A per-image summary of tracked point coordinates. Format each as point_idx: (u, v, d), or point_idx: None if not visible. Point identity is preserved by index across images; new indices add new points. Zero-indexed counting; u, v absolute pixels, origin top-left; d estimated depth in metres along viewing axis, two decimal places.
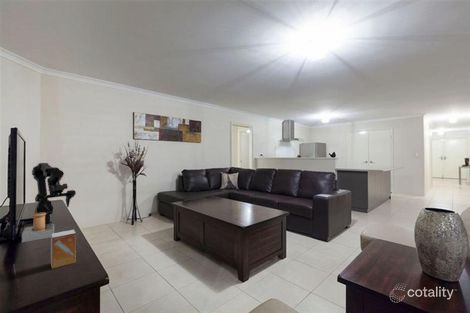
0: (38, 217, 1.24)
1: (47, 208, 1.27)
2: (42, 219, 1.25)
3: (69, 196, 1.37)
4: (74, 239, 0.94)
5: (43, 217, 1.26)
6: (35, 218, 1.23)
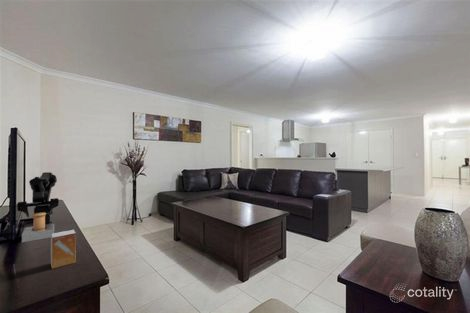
0: (38, 217, 1.24)
1: (27, 216, 1.26)
2: (42, 219, 1.25)
3: (51, 204, 1.35)
4: (74, 239, 0.94)
5: (43, 217, 1.26)
6: (35, 218, 1.23)
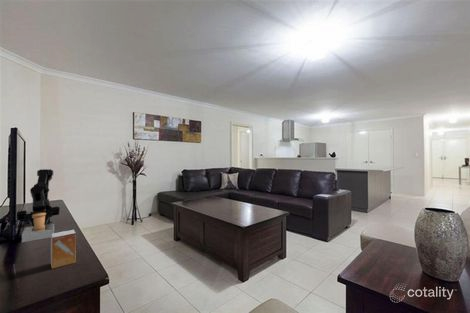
0: (38, 217, 1.24)
1: None
2: (42, 219, 1.25)
3: (48, 213, 1.29)
4: (74, 239, 0.94)
5: (43, 217, 1.26)
6: (35, 218, 1.23)
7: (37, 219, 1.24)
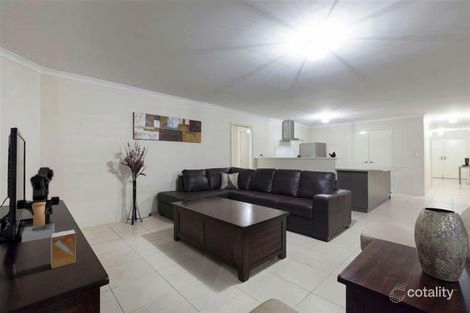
0: (38, 206, 1.24)
1: None
2: (41, 208, 1.25)
3: (47, 202, 1.29)
4: (74, 239, 0.94)
5: (43, 206, 1.26)
6: (35, 207, 1.23)
7: (37, 208, 1.24)
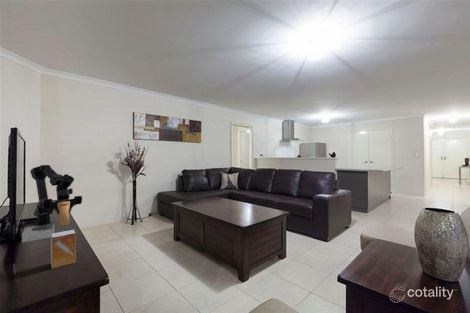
0: (63, 205, 1.28)
1: (57, 212, 1.28)
2: (66, 207, 1.30)
3: (71, 202, 1.34)
4: (74, 239, 0.94)
5: (68, 205, 1.31)
6: (60, 206, 1.28)
7: (62, 207, 1.28)
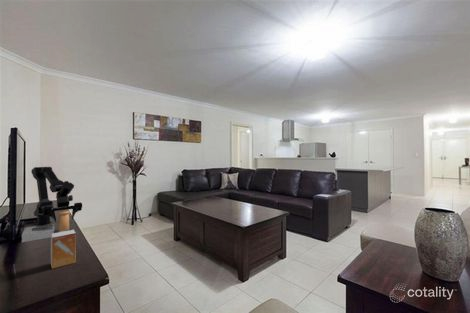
0: (63, 215, 1.28)
1: (54, 220, 1.27)
2: (66, 217, 1.30)
3: (74, 208, 1.35)
4: (74, 239, 0.94)
5: (68, 215, 1.31)
6: (60, 216, 1.28)
7: (62, 217, 1.28)
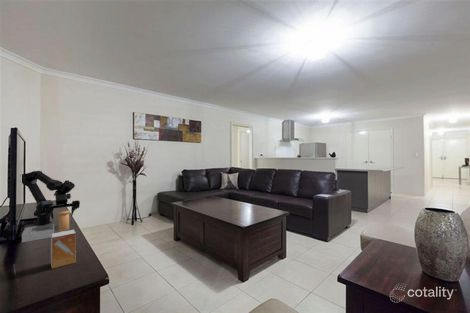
0: (63, 215, 1.28)
1: (51, 217, 1.34)
2: (66, 217, 1.30)
3: (73, 206, 1.42)
4: (74, 239, 0.94)
5: (68, 215, 1.31)
6: (60, 216, 1.28)
7: (62, 217, 1.28)
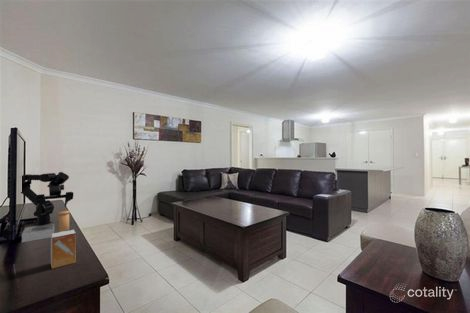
0: (63, 215, 1.29)
1: (45, 207, 1.35)
2: (66, 217, 1.30)
3: (67, 197, 1.44)
4: (74, 239, 0.94)
5: (68, 215, 1.31)
6: (60, 216, 1.28)
7: (62, 217, 1.28)
